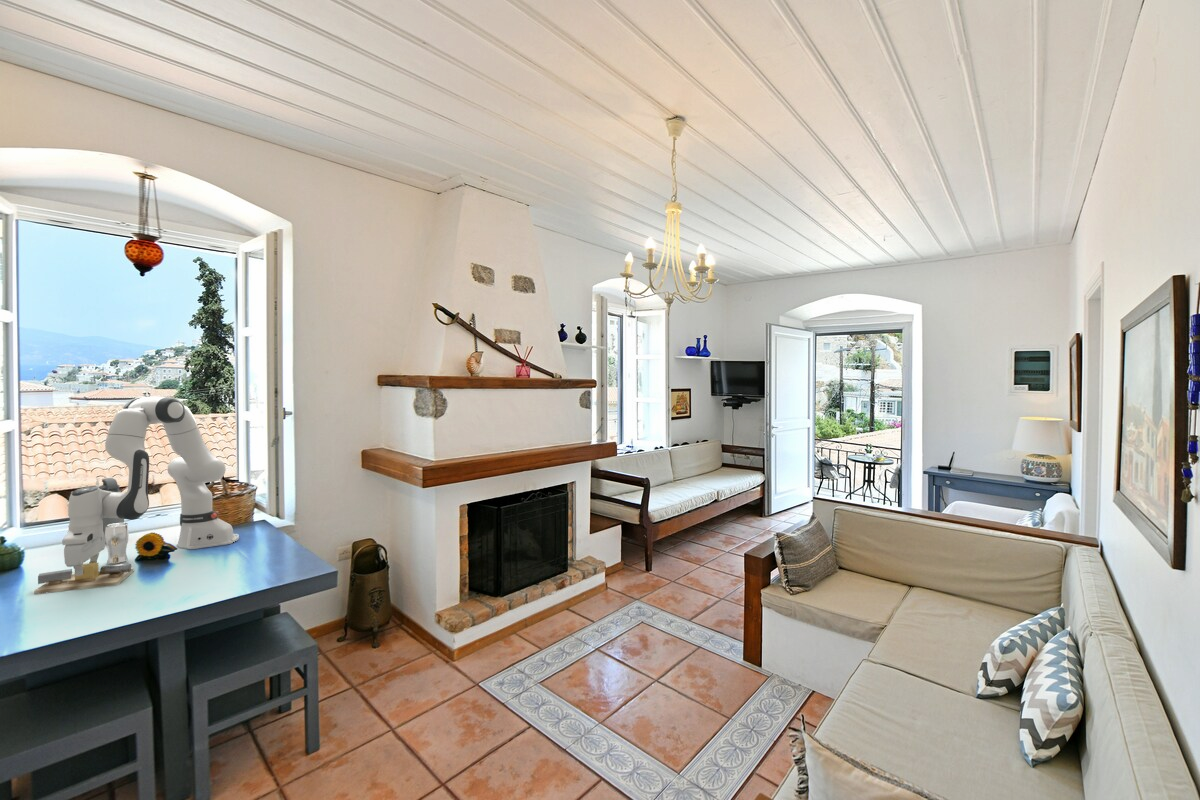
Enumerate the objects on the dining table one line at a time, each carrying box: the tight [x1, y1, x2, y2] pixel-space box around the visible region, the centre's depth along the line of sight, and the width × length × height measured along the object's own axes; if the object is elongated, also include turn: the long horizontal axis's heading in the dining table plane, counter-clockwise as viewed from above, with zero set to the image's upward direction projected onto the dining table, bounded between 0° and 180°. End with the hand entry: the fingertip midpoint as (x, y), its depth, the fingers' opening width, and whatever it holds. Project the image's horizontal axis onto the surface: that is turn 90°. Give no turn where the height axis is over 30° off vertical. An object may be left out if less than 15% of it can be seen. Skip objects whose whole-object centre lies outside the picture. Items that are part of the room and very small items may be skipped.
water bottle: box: [98, 477, 125, 545], centre depth 232 cm, size 10×10×28 cm
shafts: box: [37, 563, 132, 585], centre depth 187 cm, size 24×5×3 cm, turn 114°
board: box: [33, 568, 134, 595], centre depth 188 cm, size 22×14×2 cm, turn 114°
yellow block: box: [74, 562, 100, 580], centre depth 188 cm, size 5×4×5 cm
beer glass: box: [105, 522, 130, 565], centre depth 208 cm, size 7×7×15 cm
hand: (86, 570), depth 188 cm, fingers open, 8 cm apart
